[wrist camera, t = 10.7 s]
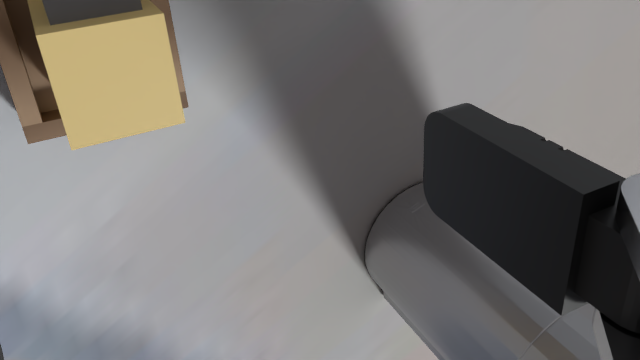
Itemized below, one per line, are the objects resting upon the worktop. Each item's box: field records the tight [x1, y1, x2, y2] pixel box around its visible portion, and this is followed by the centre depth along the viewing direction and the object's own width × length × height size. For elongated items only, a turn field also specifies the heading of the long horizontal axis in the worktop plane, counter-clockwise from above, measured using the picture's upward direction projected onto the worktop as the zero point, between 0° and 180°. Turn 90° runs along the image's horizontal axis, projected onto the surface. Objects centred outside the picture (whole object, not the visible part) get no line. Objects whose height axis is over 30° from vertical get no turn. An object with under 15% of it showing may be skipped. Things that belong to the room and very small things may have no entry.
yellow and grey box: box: [27, 0, 185, 150], centre depth 22 cm, size 5×4×7 cm
